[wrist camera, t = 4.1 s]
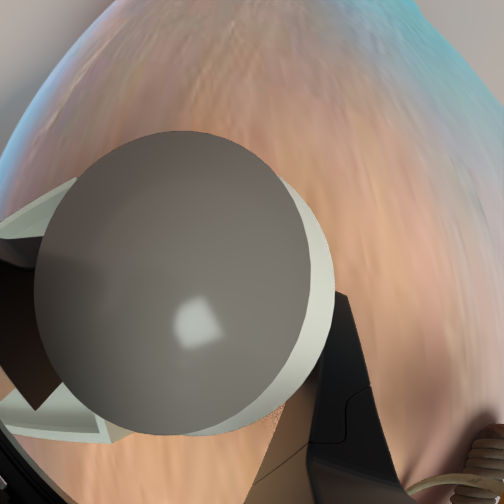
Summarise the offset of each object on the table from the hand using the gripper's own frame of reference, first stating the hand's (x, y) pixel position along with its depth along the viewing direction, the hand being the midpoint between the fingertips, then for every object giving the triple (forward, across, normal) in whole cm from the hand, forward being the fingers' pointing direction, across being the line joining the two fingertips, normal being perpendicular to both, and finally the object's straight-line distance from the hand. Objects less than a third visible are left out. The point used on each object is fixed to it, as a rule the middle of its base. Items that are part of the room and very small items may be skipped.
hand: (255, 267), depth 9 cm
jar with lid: (+4, 0, +6) cm, 7 cm away
